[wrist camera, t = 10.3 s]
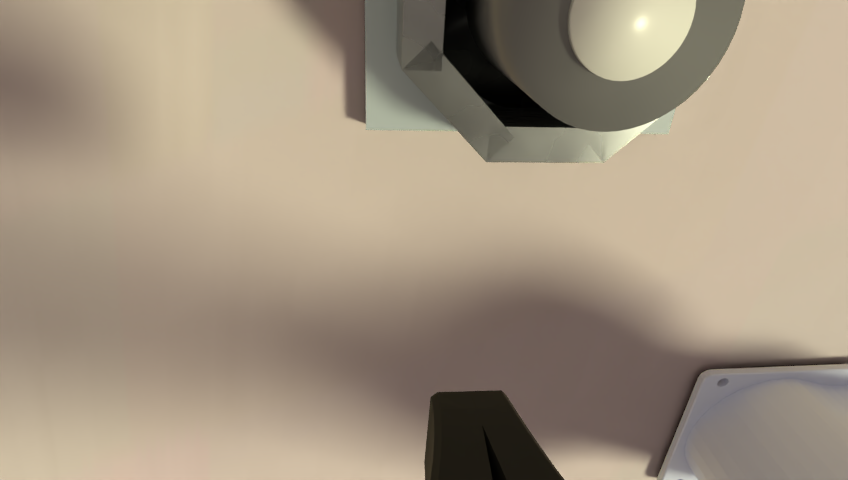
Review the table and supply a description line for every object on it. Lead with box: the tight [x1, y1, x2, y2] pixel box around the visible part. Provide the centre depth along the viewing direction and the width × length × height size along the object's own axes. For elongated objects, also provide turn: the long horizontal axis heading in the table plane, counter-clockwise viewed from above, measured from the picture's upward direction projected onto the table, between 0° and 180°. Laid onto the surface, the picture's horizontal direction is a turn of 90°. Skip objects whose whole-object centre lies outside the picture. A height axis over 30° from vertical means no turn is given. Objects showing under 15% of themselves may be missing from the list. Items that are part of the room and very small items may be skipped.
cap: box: [465, 0, 745, 132], centre depth 12 cm, size 5×5×5 cm
